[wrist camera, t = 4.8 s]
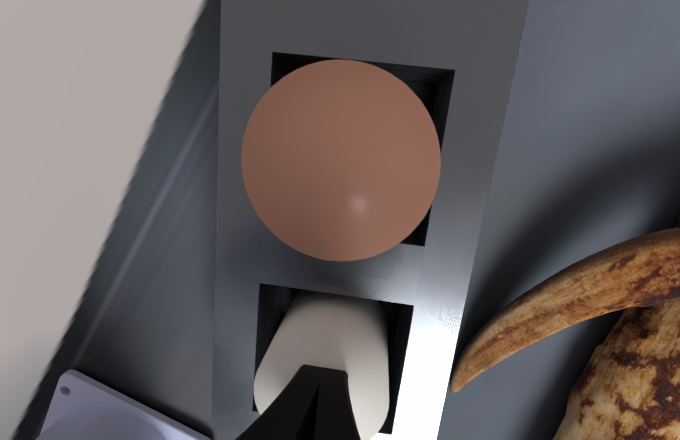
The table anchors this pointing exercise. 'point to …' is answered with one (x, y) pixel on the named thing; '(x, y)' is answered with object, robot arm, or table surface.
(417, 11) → the panel
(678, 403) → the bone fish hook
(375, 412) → the knob
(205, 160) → the table surface
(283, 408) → the robot arm
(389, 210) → the brown egg
